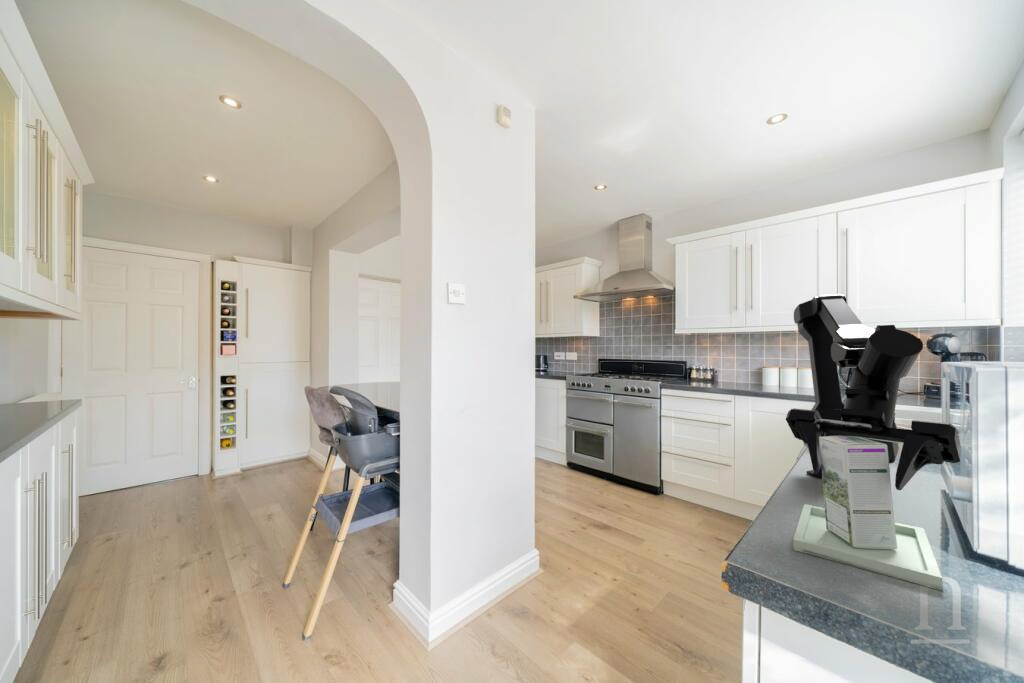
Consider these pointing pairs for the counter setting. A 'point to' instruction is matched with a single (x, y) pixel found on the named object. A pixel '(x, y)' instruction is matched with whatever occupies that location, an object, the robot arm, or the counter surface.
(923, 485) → the counter surface
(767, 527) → the counter surface
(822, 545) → the tray
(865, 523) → the syrup box
